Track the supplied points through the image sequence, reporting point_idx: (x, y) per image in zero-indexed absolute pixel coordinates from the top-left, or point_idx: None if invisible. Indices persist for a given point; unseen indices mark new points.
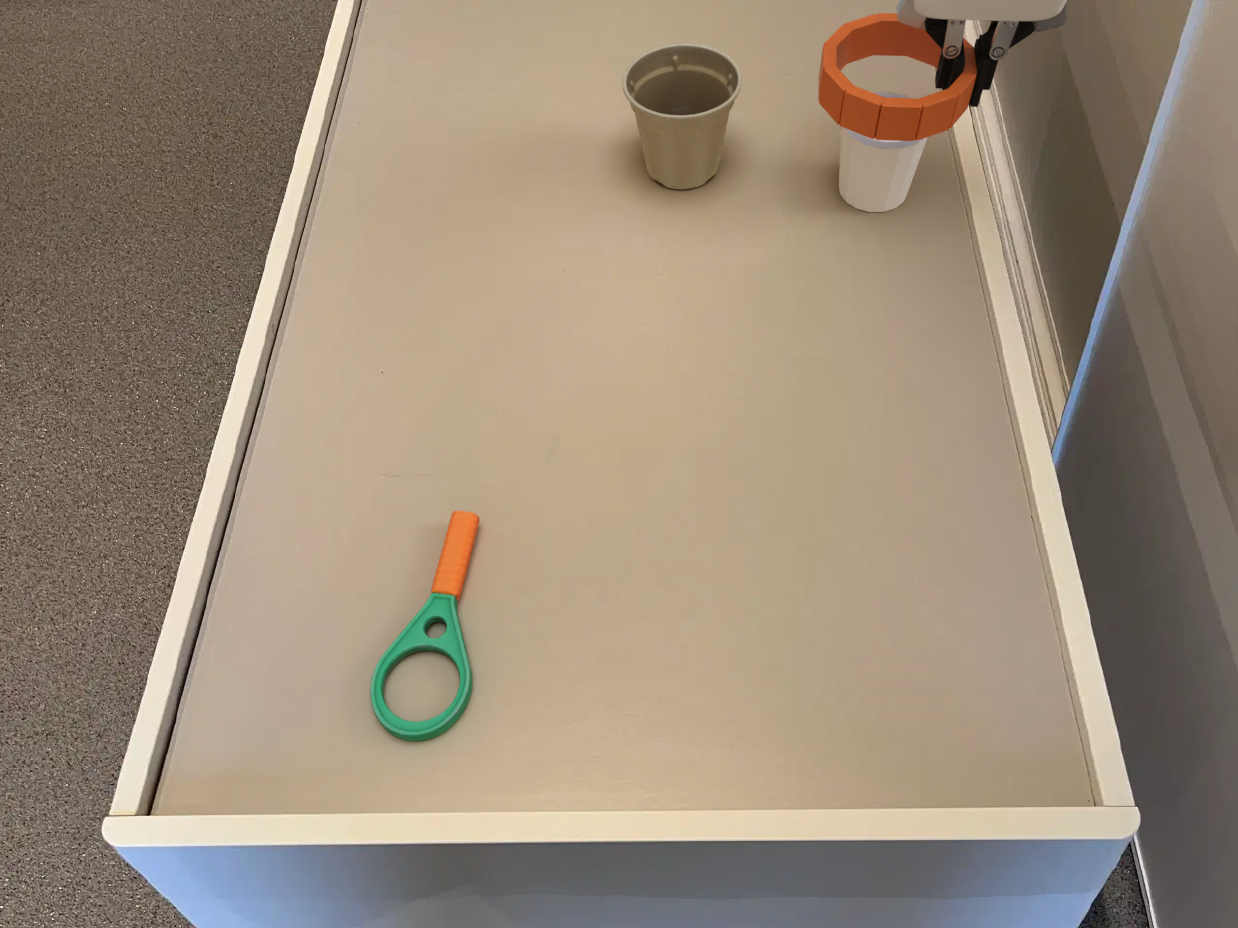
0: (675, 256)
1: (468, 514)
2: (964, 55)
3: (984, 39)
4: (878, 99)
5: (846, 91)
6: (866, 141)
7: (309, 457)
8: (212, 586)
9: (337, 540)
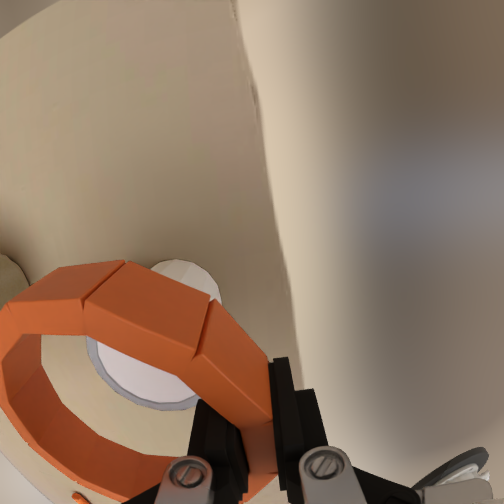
0: (53, 386)
1: (77, 500)
2: (244, 485)
3: (289, 491)
4: (124, 501)
5: (78, 483)
6: (136, 400)
7: (16, 459)
8: (33, 485)
9: (48, 485)
